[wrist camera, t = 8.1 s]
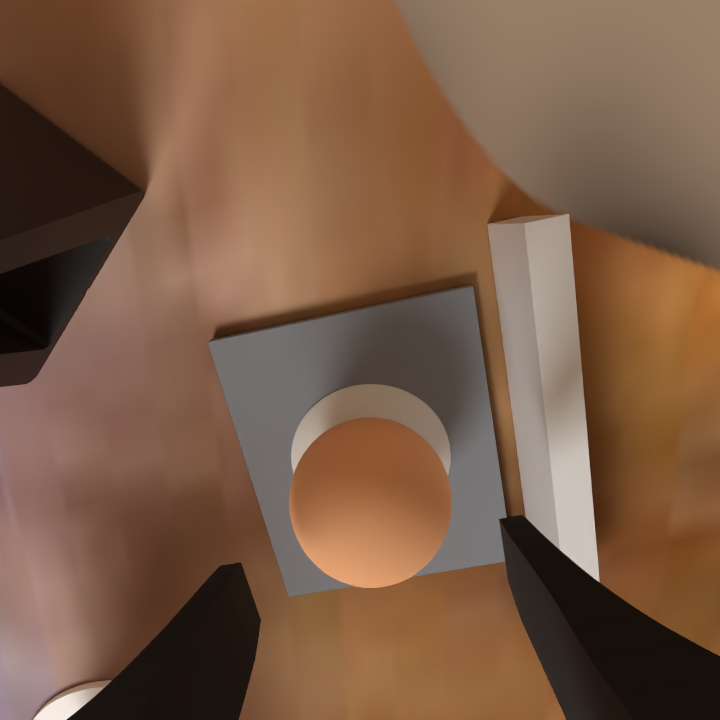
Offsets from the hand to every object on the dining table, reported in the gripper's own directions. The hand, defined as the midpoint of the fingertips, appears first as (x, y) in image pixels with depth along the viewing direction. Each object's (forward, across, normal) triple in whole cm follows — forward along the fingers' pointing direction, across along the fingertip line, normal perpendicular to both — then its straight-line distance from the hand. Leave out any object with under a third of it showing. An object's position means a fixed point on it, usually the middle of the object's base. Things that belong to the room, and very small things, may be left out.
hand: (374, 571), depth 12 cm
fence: (+7, -6, 0) cm, 9 cm away
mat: (+7, 0, 0) cm, 7 cm away
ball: (+3, 0, 0) cm, 3 cm away
